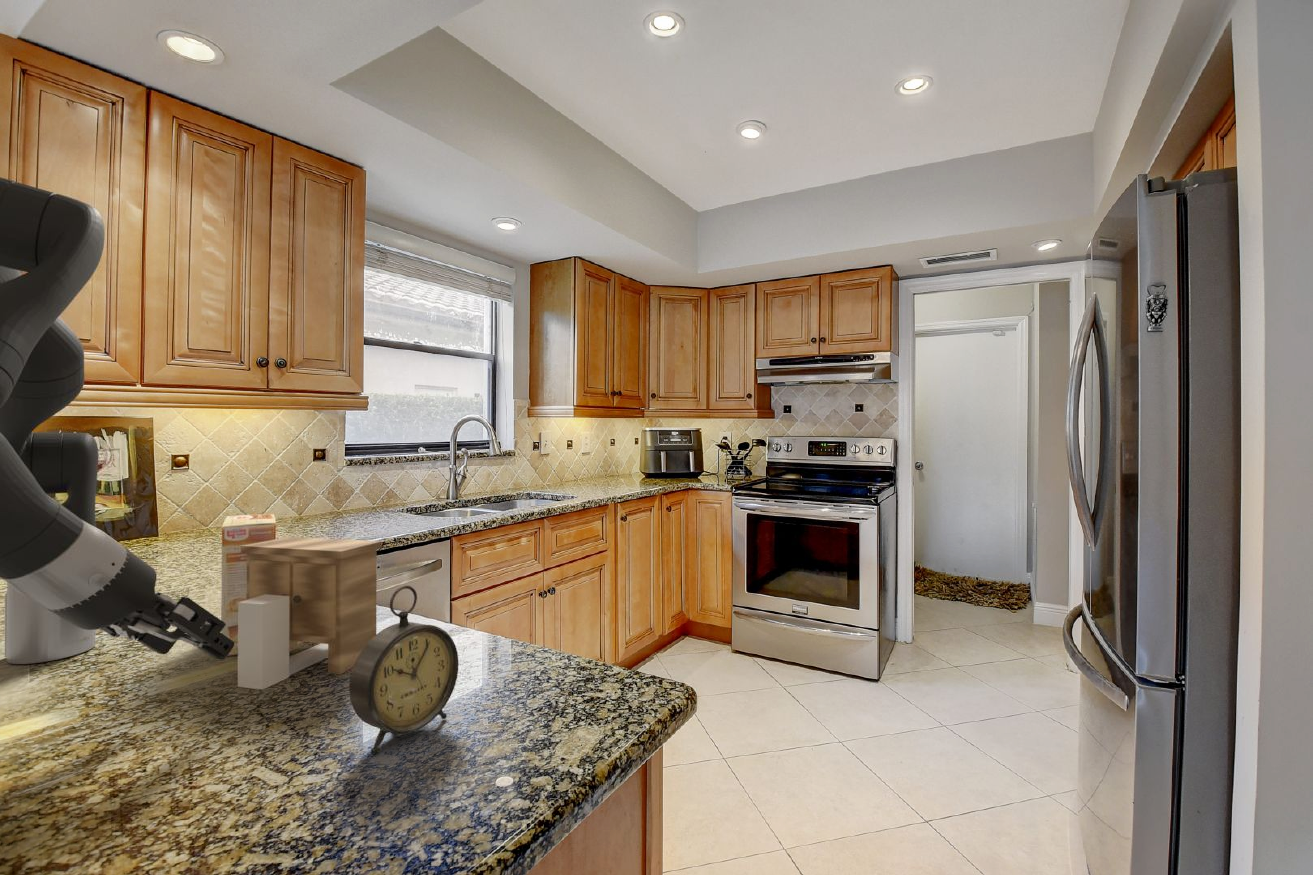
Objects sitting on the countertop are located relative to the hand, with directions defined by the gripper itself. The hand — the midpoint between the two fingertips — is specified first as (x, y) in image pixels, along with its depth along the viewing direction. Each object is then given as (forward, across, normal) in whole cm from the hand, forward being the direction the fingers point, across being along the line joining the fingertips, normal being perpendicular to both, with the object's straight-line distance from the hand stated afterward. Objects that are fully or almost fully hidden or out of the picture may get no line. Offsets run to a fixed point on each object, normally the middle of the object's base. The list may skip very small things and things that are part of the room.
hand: (198, 649), depth 68 cm
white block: (+15, 0, -5) cm, 16 cm away
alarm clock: (+7, -27, +4) cm, 28 cm away
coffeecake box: (+21, +17, -10) cm, 29 cm away
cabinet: (+17, 0, -7) cm, 18 cm away
